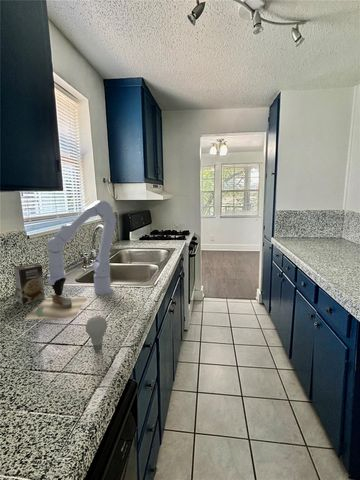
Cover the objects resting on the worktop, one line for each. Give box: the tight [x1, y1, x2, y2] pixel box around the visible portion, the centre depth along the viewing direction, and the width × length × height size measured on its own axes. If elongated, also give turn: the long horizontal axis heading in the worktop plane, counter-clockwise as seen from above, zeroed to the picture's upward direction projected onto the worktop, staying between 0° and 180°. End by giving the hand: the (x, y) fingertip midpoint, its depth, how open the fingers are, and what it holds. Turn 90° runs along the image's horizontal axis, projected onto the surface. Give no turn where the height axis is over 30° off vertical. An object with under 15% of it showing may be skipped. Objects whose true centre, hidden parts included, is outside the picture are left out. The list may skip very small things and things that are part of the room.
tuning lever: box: [50, 294, 72, 308], centre depth 106 cm, size 12×4×3 cm, turn 60°
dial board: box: [24, 296, 89, 321], centre depth 104 cm, size 20×18×1 cm
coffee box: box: [13, 263, 46, 306], centre depth 110 cm, size 9×6×16 cm
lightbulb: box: [85, 315, 108, 352], centre depth 76 cm, size 6×6×11 cm
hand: (58, 295), depth 111 cm, fingers closed
